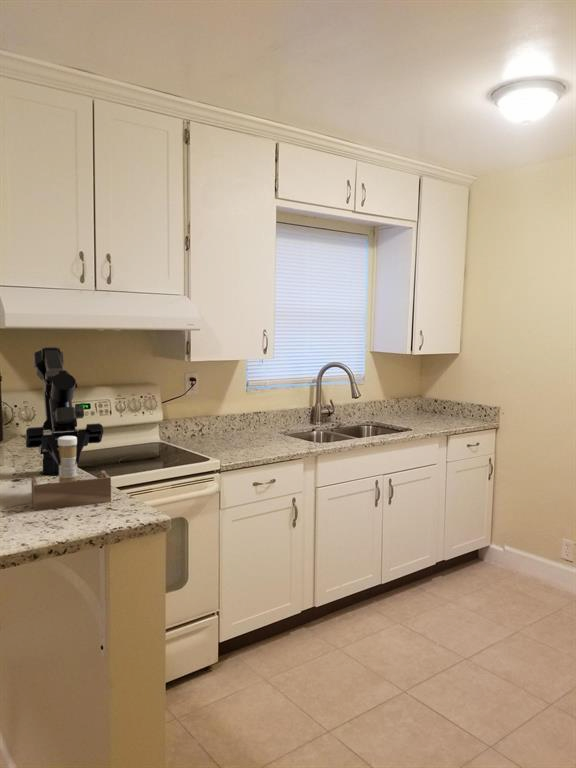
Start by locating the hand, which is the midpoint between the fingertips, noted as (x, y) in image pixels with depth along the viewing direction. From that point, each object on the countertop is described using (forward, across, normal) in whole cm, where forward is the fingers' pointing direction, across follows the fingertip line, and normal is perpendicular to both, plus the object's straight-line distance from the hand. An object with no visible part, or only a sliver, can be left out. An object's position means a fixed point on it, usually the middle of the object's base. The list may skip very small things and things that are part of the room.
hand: (68, 462), depth 151 cm
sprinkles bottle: (+4, 0, +6) cm, 7 cm away
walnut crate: (+9, 0, +4) cm, 10 cm away
